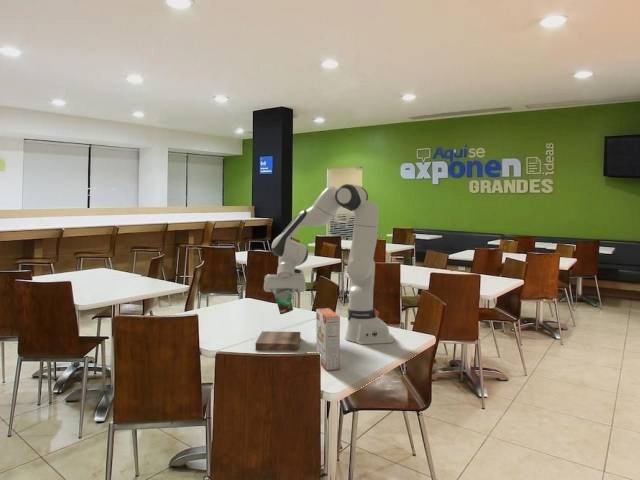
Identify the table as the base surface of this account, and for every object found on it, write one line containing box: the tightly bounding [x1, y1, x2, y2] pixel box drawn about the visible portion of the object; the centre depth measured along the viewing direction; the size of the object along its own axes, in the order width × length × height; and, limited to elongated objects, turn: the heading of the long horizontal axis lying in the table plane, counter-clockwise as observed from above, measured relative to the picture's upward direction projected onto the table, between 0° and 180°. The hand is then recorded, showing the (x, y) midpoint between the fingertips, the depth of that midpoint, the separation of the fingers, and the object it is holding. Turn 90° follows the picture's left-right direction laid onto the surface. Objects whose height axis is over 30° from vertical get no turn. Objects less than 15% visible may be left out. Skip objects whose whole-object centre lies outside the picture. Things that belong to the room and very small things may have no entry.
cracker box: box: [315, 307, 341, 372], centre depth 181 cm, size 14×6×21 cm, turn 15°
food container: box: [274, 289, 294, 315], centre depth 219 cm, size 12×6×10 cm, turn 170°
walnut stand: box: [254, 330, 301, 352], centre depth 207 cm, size 18×18×3 cm
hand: (283, 298), depth 218 cm, fingers closed on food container, 5 cm apart
